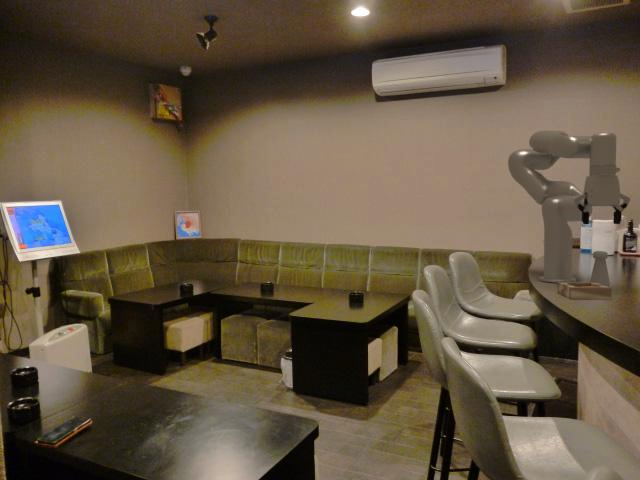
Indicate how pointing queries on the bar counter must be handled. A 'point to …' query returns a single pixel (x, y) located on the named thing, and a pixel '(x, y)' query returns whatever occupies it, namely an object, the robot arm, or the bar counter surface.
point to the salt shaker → (600, 269)
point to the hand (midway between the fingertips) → (601, 224)
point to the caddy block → (585, 290)
